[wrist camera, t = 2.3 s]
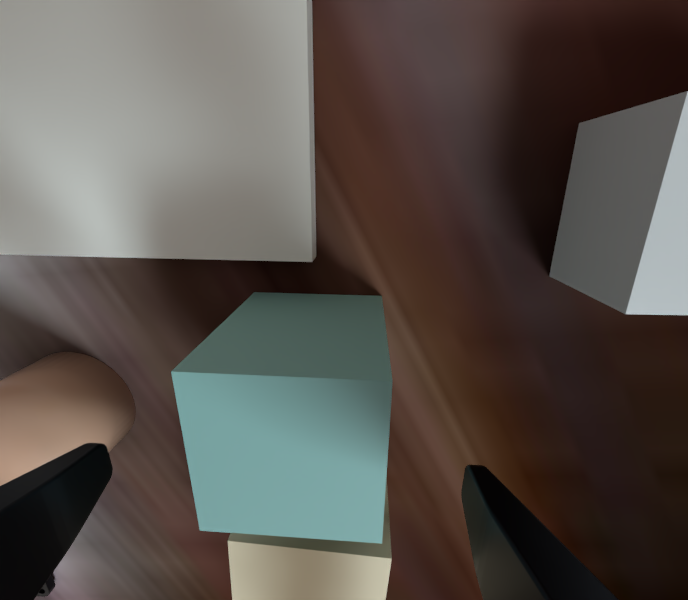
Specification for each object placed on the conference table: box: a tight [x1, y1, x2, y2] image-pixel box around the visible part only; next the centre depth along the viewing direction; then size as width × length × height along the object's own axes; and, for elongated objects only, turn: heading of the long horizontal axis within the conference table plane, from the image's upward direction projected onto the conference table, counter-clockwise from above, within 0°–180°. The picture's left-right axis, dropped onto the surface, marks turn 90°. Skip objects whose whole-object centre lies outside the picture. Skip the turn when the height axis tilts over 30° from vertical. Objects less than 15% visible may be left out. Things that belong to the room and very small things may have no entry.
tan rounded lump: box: [0, 352, 135, 486], centre depth 14 cm, size 5×5×4 cm
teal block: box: [171, 292, 392, 544], centre depth 11 cm, size 5×5×6 cm
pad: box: [0, 0, 316, 262], centre depth 11 cm, size 12×12×1 cm
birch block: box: [228, 478, 392, 600], centre depth 15 cm, size 6×4×4 cm, turn 87°
